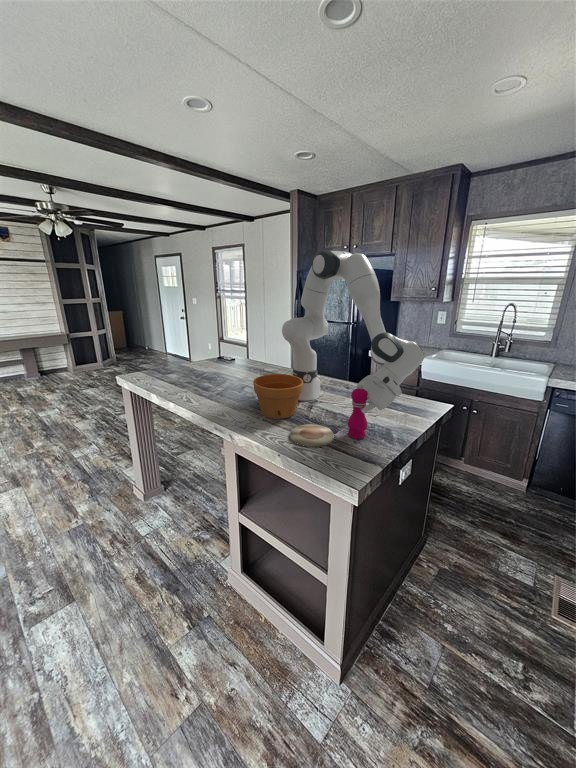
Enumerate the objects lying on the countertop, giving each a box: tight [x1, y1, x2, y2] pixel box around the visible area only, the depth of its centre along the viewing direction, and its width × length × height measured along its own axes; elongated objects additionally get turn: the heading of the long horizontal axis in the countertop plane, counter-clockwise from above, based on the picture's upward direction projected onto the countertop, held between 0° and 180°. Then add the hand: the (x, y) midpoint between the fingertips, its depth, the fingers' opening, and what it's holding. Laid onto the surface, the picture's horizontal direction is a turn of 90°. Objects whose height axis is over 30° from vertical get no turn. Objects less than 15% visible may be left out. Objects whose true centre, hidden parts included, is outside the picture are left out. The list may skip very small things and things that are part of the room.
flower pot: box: [252, 373, 303, 420], centre depth 138 cm, size 21×21×15 cm
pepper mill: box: [347, 385, 369, 440], centre depth 117 cm, size 7×7×20 cm
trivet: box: [289, 423, 335, 448], centre depth 119 cm, size 16×16×1 cm
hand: (357, 406), depth 117 cm, fingers open, 8 cm apart
